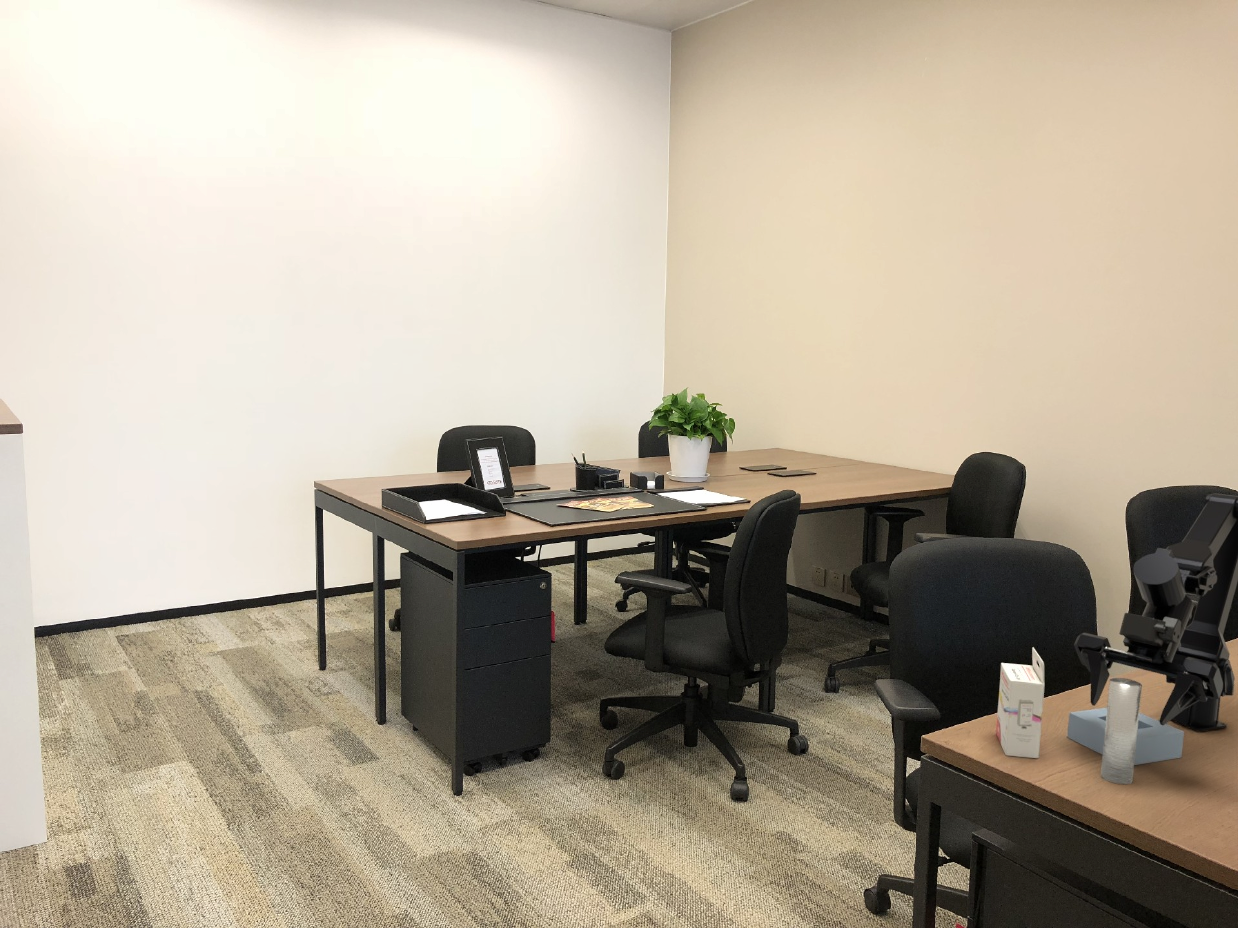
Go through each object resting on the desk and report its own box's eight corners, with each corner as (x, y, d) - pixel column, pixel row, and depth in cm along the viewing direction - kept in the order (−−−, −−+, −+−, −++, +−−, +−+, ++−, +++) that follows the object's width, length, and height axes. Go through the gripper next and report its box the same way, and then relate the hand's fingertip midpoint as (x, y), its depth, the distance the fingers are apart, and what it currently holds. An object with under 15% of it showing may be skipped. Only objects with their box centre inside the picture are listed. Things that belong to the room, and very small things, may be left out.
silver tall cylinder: (1115, 770, 138) (1124, 676, 137) (1139, 782, 135) (1148, 686, 133) (1094, 773, 137) (1103, 679, 135) (1117, 785, 133) (1126, 688, 132)
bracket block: (1120, 729, 154) (1122, 705, 153) (1181, 757, 144) (1184, 731, 143) (1067, 736, 150) (1069, 712, 149) (1125, 766, 140) (1128, 740, 139)
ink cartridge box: (993, 733, 151) (1001, 642, 149) (1027, 737, 150) (1035, 645, 148) (1004, 756, 142) (1012, 660, 140) (1039, 759, 141) (1048, 663, 139)
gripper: (1084, 579, 144) (1045, 664, 138) (1225, 607, 130) (1189, 702, 124) (1101, 622, 150) (1064, 705, 144) (1237, 652, 136) (1203, 745, 130)
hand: (1126, 713), depth 136 cm, fingers open, 9 cm apart
